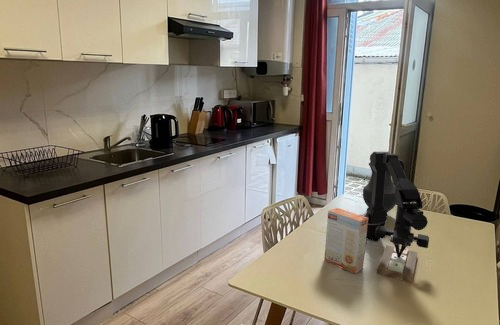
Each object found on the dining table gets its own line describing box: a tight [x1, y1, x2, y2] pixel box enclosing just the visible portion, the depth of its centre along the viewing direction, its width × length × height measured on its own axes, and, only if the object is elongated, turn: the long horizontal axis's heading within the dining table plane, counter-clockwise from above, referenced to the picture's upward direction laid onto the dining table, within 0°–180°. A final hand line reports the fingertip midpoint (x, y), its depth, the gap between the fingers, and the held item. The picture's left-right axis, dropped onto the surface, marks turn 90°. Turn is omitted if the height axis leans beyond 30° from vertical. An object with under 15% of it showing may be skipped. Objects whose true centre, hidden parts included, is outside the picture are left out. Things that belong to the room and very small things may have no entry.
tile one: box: [388, 260, 404, 273], centre depth 134 cm, size 5×5×3 cm
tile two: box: [391, 253, 406, 265], centre depth 140 cm, size 5×5×3 cm
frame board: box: [376, 245, 418, 283], centre depth 140 cm, size 12×22×2 cm, turn 152°
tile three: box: [393, 246, 409, 257], centre depth 146 cm, size 5×5×3 cm
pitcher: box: [362, 158, 405, 217], centre depth 189 cm, size 17×21×30 cm
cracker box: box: [323, 207, 368, 274], centre depth 137 cm, size 14×6×21 cm, turn 42°
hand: (398, 256), depth 140 cm, fingers closed, pressing on tile two
